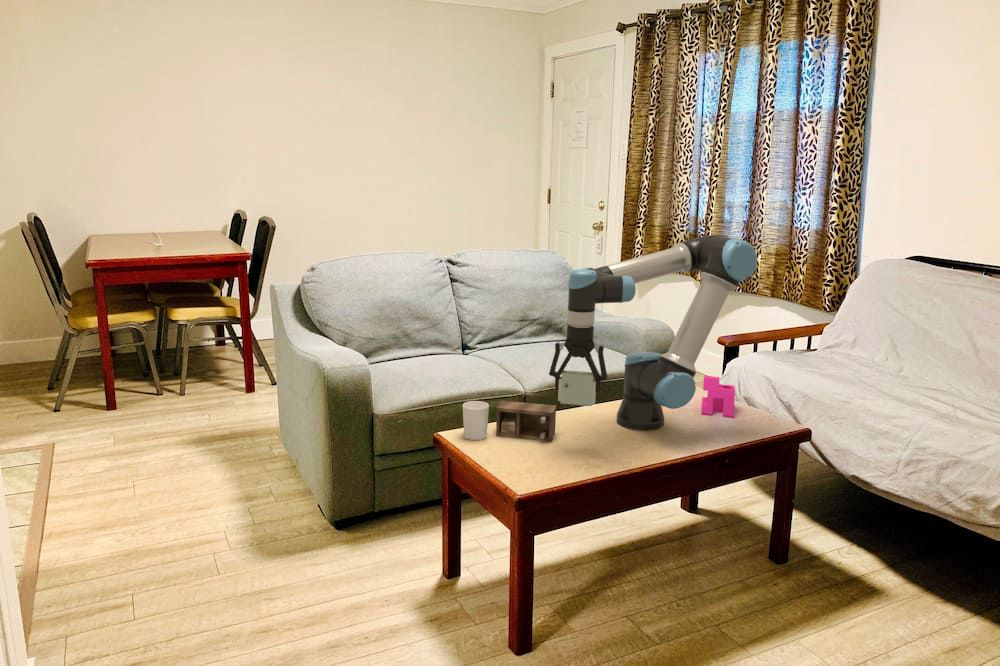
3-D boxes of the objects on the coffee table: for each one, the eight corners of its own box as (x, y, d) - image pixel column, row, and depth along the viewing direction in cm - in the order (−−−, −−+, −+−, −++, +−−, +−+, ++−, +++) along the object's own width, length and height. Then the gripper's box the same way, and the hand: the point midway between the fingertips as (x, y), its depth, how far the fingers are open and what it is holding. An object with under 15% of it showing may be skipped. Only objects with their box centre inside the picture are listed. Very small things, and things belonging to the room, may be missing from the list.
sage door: (592, 402, 221) (594, 372, 219) (591, 407, 217) (593, 376, 215) (562, 399, 223) (563, 369, 221) (560, 404, 219) (561, 373, 217)
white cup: (489, 432, 235) (490, 401, 233) (486, 441, 228) (487, 409, 225) (464, 431, 236) (464, 400, 234) (460, 440, 228) (460, 408, 226)
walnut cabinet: (555, 433, 236) (556, 405, 233) (550, 444, 227) (551, 415, 224) (501, 428, 239) (501, 400, 237) (494, 438, 230) (494, 410, 228)
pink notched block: (701, 404, 266) (703, 375, 264) (732, 407, 264) (735, 378, 261) (701, 415, 255) (703, 385, 253) (733, 418, 252) (736, 388, 250)
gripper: (620, 324, 217) (615, 400, 222) (544, 319, 221) (541, 393, 226) (618, 330, 209) (613, 408, 215) (540, 324, 214) (537, 401, 219)
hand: (576, 401), depth 220 cm, fingers closed on sage door, 9 cm apart
